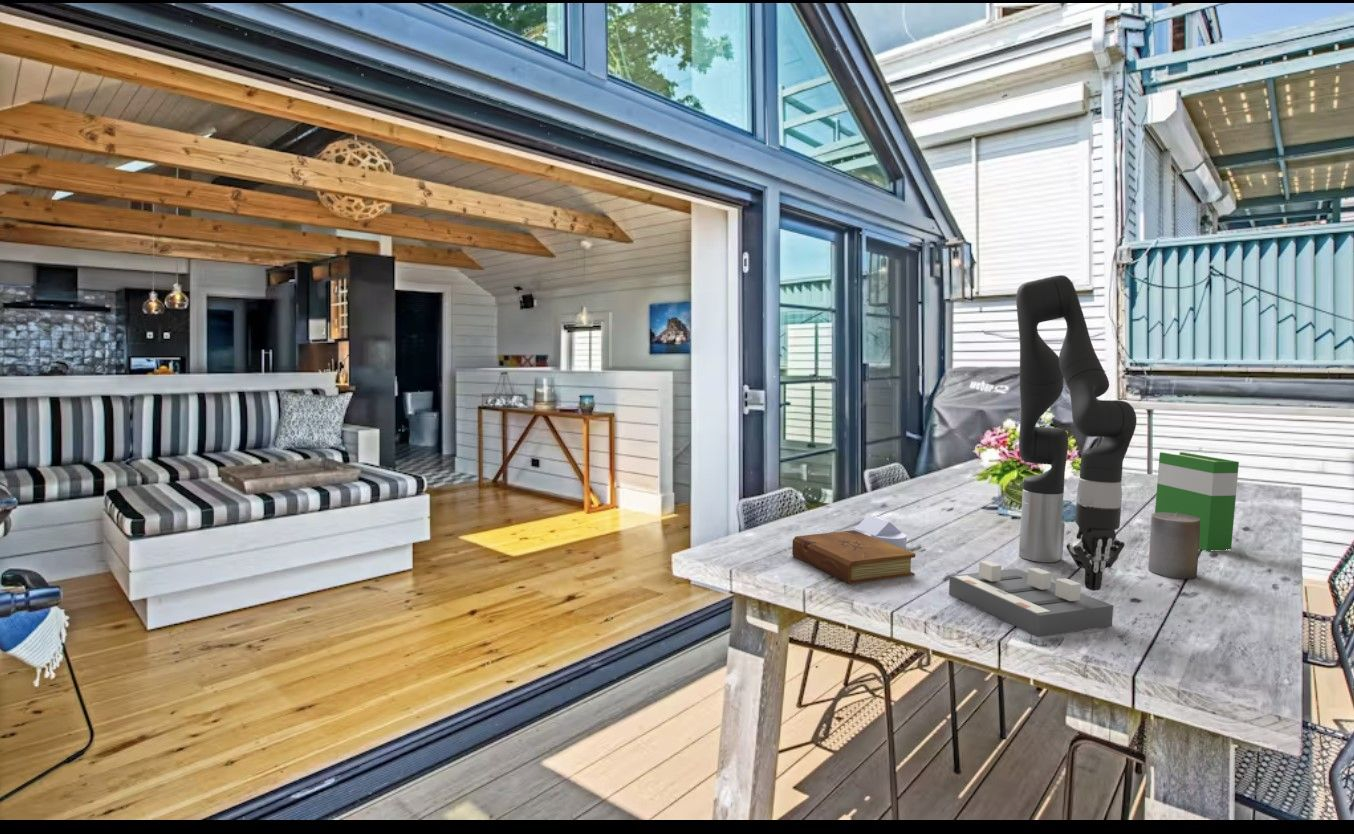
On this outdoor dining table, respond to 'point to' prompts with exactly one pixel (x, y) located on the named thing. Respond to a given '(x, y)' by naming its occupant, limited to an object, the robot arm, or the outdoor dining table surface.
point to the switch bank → (1030, 604)
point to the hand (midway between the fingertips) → (1092, 589)
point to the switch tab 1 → (989, 571)
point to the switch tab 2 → (1039, 578)
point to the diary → (853, 556)
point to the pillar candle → (1174, 545)
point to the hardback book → (1200, 494)
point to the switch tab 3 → (1068, 589)
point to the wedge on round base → (883, 531)
